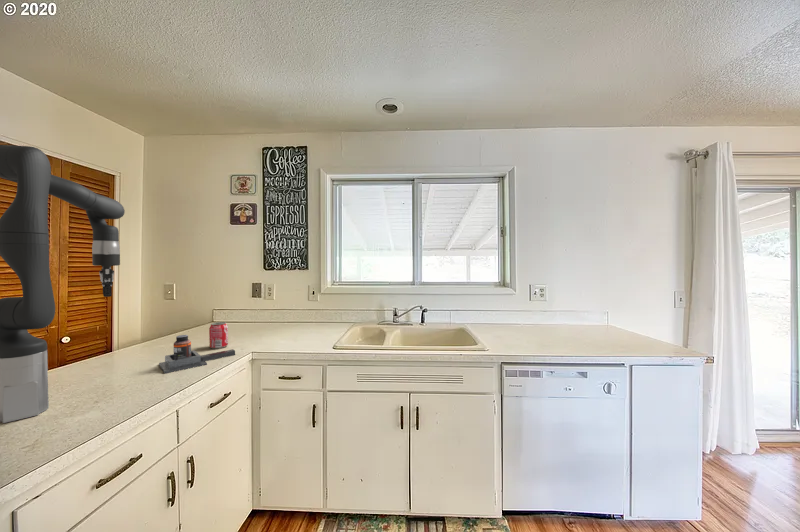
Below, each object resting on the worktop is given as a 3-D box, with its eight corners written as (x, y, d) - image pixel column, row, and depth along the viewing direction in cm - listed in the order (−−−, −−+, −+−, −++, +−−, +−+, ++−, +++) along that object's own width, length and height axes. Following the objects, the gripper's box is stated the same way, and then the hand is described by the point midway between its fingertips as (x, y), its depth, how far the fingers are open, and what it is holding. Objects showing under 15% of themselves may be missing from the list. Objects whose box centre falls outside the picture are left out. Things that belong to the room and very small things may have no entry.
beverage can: (224, 343, 156) (223, 321, 156) (230, 346, 151) (230, 322, 151) (206, 347, 150) (206, 323, 149) (213, 350, 145) (213, 325, 145)
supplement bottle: (189, 359, 129) (189, 333, 129) (192, 362, 125) (192, 335, 125) (172, 362, 125) (172, 335, 125) (175, 366, 121) (174, 338, 121)
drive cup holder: (239, 357, 134) (239, 349, 134) (164, 373, 115) (164, 363, 115) (229, 351, 144) (229, 343, 144) (158, 364, 125) (158, 355, 125)
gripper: (92, 253, 116) (93, 295, 117) (92, 252, 106) (93, 298, 107) (118, 253, 122) (119, 293, 122) (121, 253, 112) (121, 296, 112)
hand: (107, 295), depth 114 cm, fingers open, 8 cm apart
